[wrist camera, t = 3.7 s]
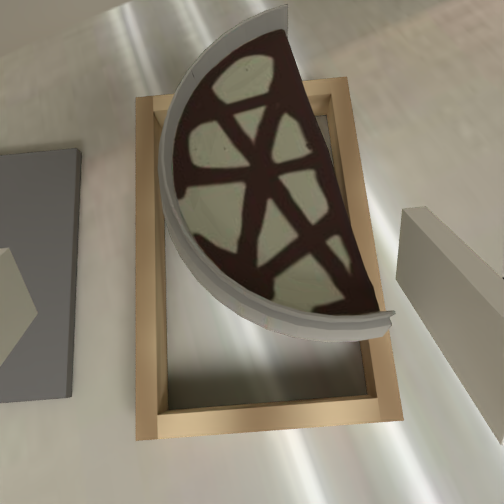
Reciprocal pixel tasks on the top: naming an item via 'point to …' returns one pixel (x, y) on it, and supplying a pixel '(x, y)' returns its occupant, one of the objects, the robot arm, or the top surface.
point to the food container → (262, 192)
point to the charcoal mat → (42, 268)
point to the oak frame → (154, 295)
